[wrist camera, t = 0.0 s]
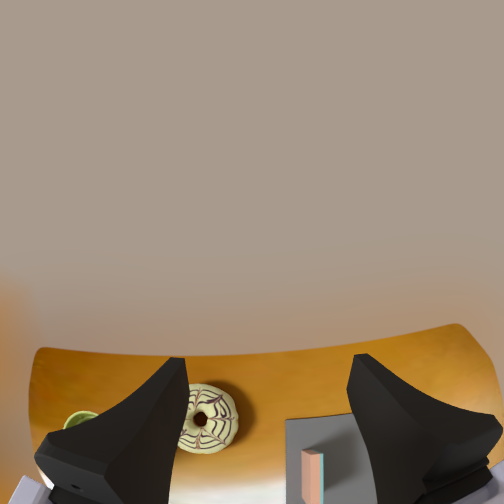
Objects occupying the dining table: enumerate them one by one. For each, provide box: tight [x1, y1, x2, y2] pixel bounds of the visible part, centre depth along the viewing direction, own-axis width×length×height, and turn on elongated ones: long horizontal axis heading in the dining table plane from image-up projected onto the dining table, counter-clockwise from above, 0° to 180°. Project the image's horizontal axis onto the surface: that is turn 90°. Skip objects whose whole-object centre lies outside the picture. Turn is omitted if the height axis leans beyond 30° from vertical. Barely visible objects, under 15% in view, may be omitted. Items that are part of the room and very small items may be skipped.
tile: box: [301, 449, 323, 504], centre depth 29 cm, size 8×2×7 cm, turn 0°
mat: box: [285, 414, 377, 504], centre depth 32 cm, size 18×14×1 cm
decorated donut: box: [178, 384, 239, 454], centre depth 36 cm, size 10×11×4 cm
